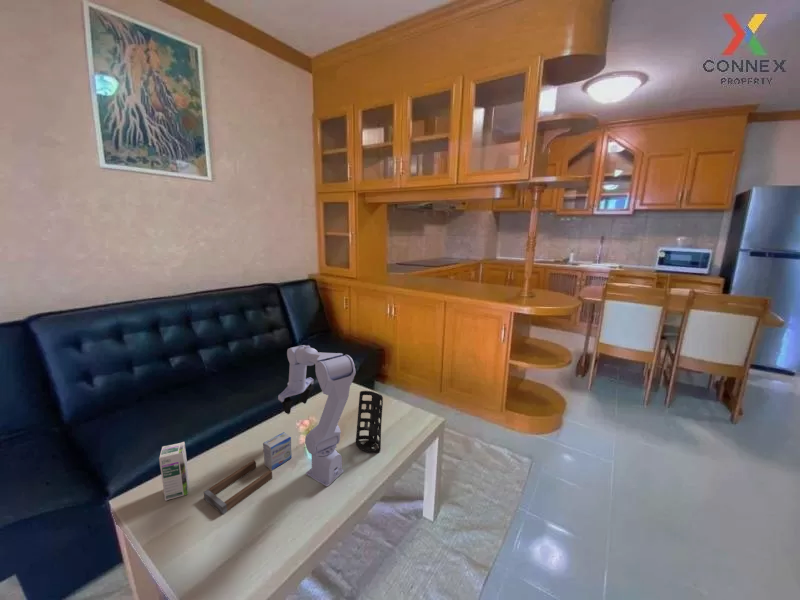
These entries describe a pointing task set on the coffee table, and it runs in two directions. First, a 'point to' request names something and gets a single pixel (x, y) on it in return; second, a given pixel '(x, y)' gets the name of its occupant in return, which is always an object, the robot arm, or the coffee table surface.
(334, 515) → the coffee table surface
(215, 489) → the open rail bay
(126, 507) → the coffee table surface
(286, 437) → the medicine box
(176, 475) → the syrup box
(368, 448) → the holder
